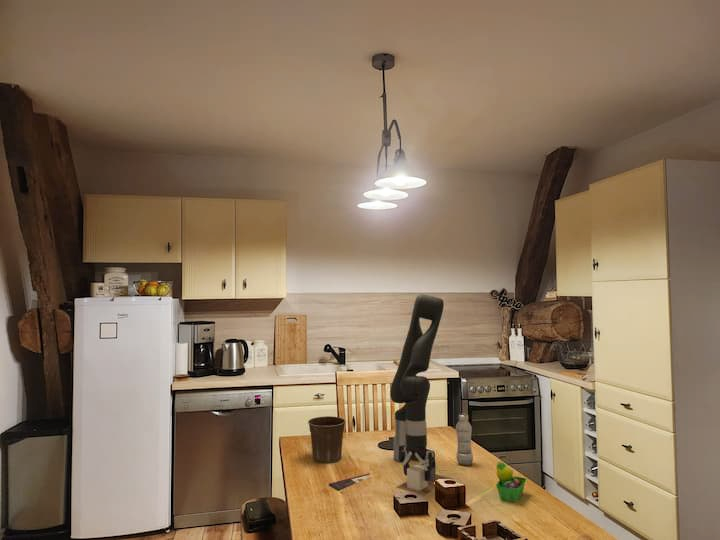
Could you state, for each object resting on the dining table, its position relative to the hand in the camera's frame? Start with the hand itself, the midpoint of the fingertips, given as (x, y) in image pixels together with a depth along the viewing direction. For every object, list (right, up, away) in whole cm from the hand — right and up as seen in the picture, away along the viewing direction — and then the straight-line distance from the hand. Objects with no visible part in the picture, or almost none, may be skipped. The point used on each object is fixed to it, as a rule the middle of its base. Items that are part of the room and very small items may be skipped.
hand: (417, 477), depth 183 cm
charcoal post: (+6, -3, +7) cm, 10 cm away
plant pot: (-34, -7, +36) cm, 50 cm away
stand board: (+3, -5, +4) cm, 7 cm away
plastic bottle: (+23, -5, +27) cm, 35 cm away
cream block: (0, -3, 0) cm, 3 cm away
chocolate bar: (-22, -6, +7) cm, 24 cm away
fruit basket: (+31, -4, -7) cm, 32 cm away
